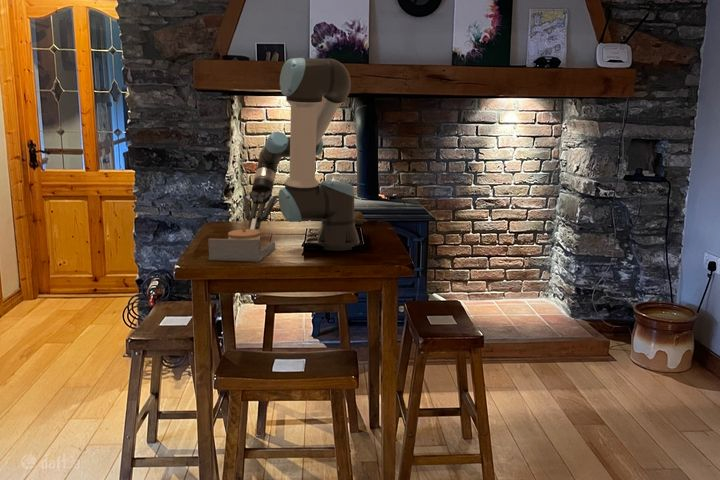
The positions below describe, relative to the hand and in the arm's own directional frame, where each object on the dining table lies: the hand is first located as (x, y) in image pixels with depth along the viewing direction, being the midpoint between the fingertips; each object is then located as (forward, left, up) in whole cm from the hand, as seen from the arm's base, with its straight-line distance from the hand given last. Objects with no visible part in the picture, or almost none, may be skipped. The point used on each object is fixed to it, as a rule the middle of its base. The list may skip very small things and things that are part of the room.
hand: (252, 235), depth 230 cm
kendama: (-26, -43, -5) cm, 50 cm away
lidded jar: (-1, +11, -4) cm, 12 cm away
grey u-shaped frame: (0, +10, -4) cm, 11 cm away
